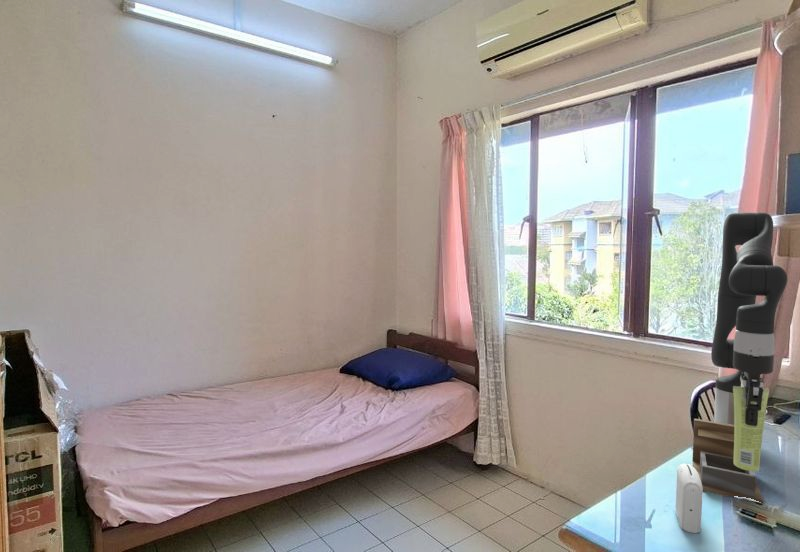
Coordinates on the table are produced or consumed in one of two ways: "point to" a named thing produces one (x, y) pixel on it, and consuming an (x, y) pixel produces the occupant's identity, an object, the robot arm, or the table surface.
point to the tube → (747, 432)
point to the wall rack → (721, 461)
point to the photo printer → (689, 498)
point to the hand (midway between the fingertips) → (749, 421)
